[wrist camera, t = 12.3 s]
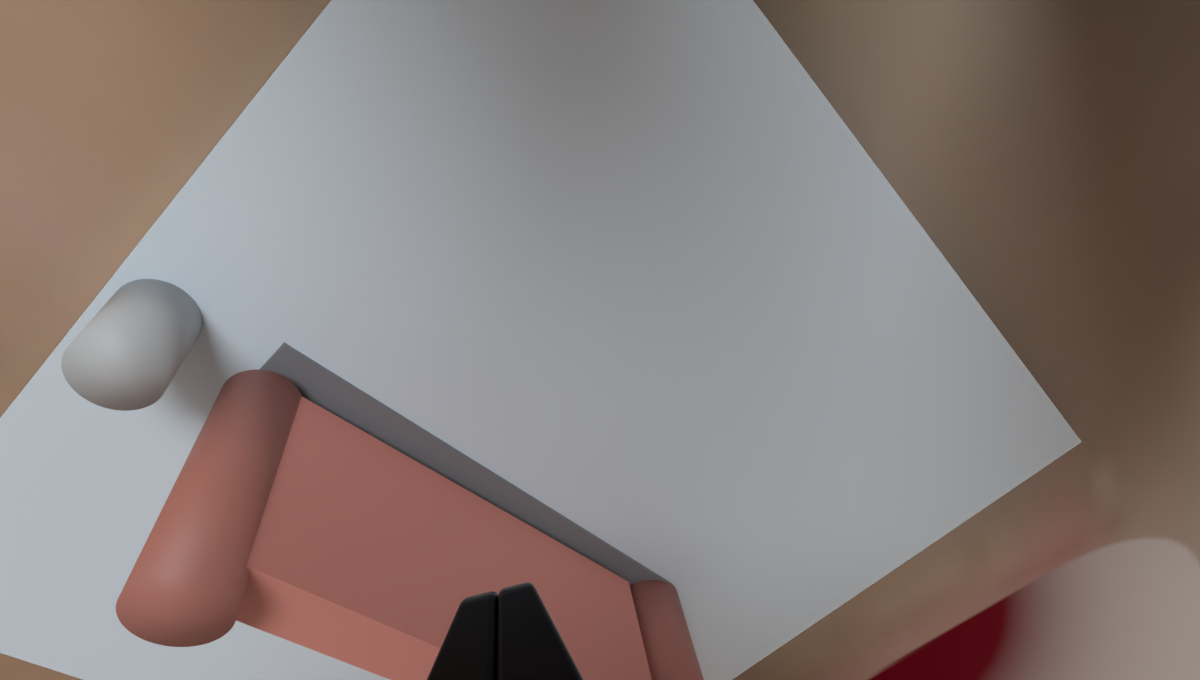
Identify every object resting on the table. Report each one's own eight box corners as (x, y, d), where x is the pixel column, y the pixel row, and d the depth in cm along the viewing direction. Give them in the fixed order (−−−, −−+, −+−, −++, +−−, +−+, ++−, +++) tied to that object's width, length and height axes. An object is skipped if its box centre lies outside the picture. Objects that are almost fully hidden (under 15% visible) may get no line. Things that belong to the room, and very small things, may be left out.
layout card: (544, -268, 11) (564, -307, 9) (1066, 428, 21) (1137, 491, 19) (-130, 583, 17) (-218, 686, 15) (522, 804, 27) (527, 884, 25)
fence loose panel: (633, 577, 20) (682, 772, 15) (593, 609, 20) (628, 809, 16) (248, 356, 14) (152, 559, 10) (204, 406, 15) (93, 623, 10)
